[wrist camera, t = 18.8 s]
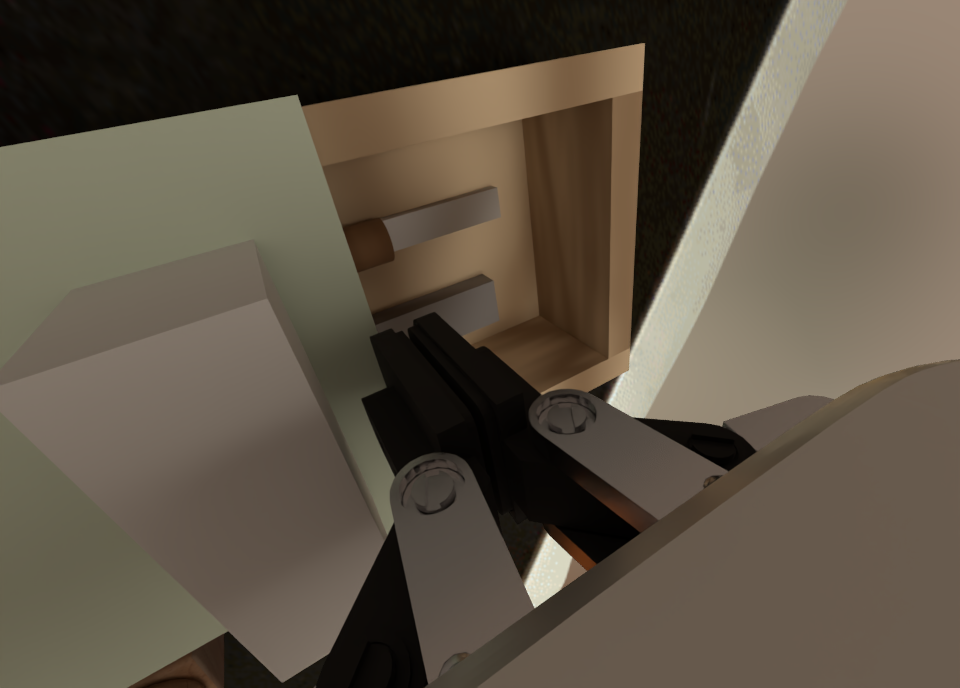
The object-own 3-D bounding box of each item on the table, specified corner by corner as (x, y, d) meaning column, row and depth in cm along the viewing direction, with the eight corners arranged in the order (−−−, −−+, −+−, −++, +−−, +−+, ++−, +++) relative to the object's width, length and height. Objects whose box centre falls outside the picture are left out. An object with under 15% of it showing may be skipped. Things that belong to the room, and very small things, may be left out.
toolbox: (195, 473, 17) (185, 603, 13) (-43, 170, 11) (-241, 208, 6) (547, 319, 23) (628, 370, 19) (528, 64, 17) (644, 43, 12)
